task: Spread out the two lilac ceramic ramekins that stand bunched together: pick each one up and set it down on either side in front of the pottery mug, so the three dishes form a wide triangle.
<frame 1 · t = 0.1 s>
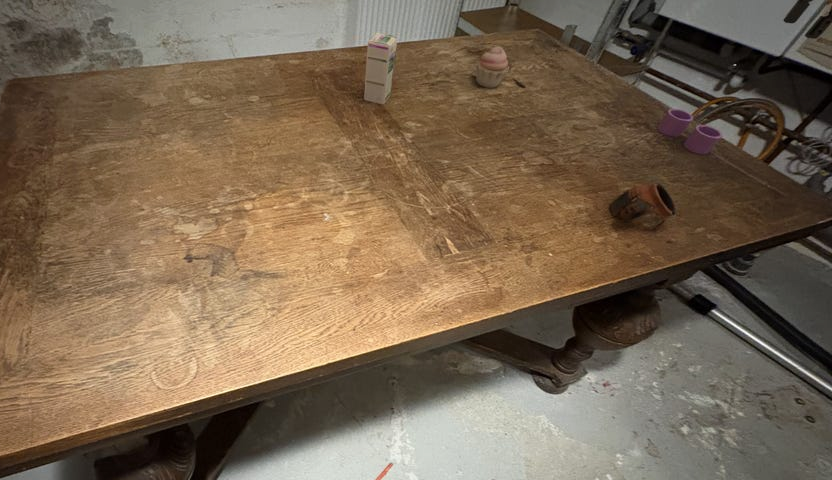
hand: (798, 29, 85), 25 cm above the table, tool pointing down, fingers open, 8 cm apart
cupcake: (487, 84, 117), on the table
ramekin a: (668, 130, 106), on the table
syrup box: (376, 98, 108), on the table
ramekin b: (695, 147, 102), on the table
pottery mug: (631, 218, 83), on the table
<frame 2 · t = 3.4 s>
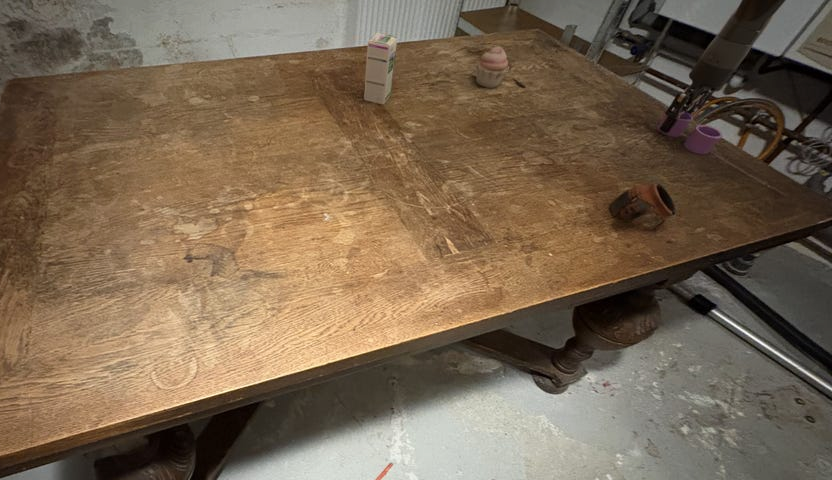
hand: (670, 128, 105), 1 cm above the table, tool pointing down, fingers closed on ramekin a, 6 cm apart
ramekin a: (668, 130, 106), on the table, touching gripper
everything else where it was.
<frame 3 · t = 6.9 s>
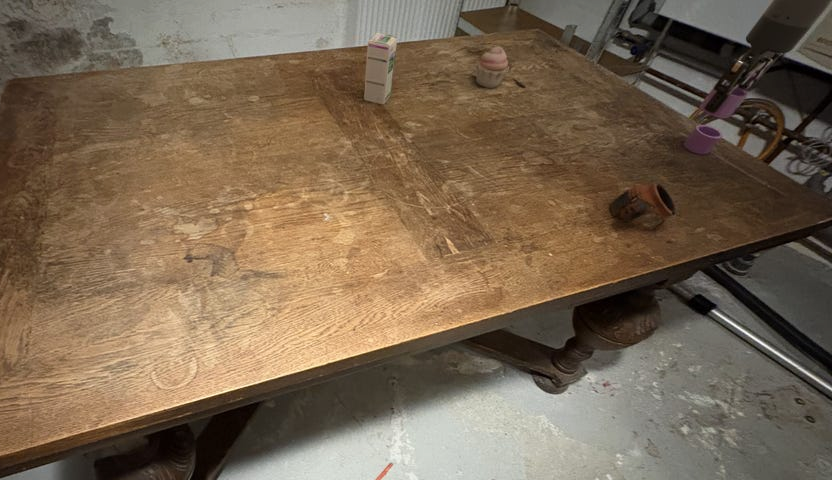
hand: (717, 107, 85), 14 cm above the table, tool pointing down, fingers closed on ramekin a, 6 cm apart
ramekin a: (714, 111, 86), point 13 cm above the table, touching gripper
everything else where it was.
when the fingers open (1 cm above the table, at t = 10.3 s): ramekin a stays where it is, on the table.
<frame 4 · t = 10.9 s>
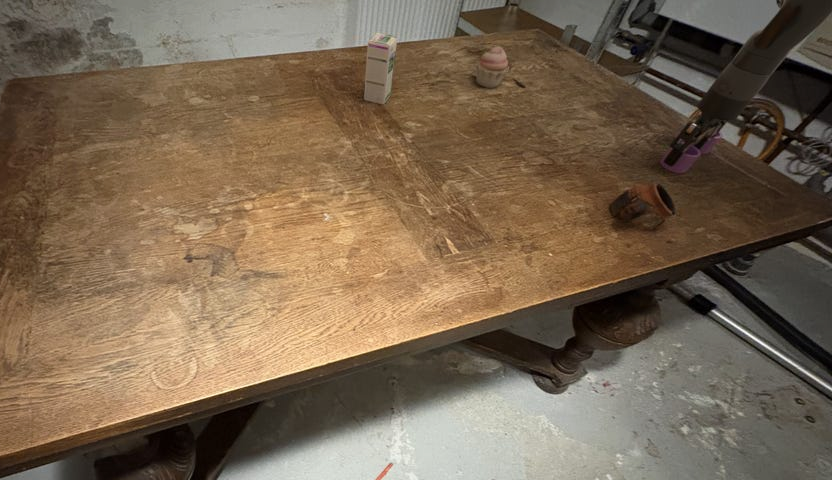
hand: (678, 159, 94), 2 cm above the table, tool pointing down, fingers open, 8 cm apart
ramekin a: (673, 165, 96), on the table
everything else where it was.
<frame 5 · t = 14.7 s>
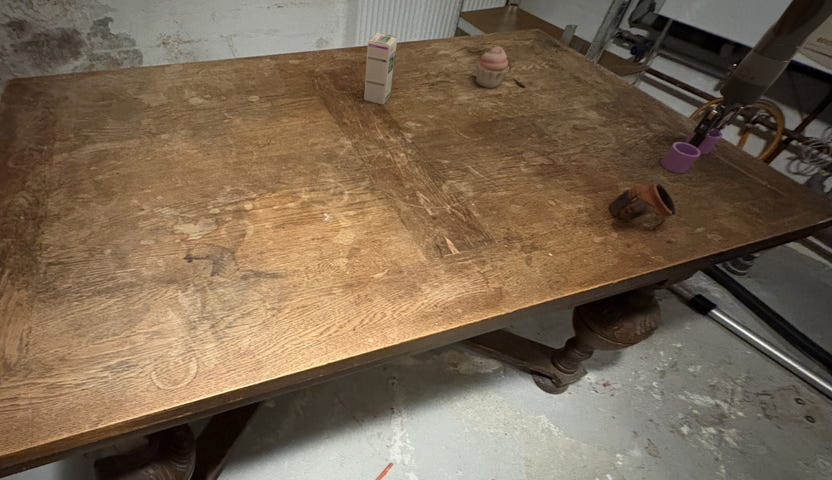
hand: (698, 144, 101), 1 cm above the table, tool pointing down, fingers closed on ramekin b, 6 cm apart
ramekin b: (695, 147, 102), on the table, touching gripper
everything else where it was.
when the fingers open (1 cm above the table, at t = 21.9 s): ramekin b stays where it is, on the table.
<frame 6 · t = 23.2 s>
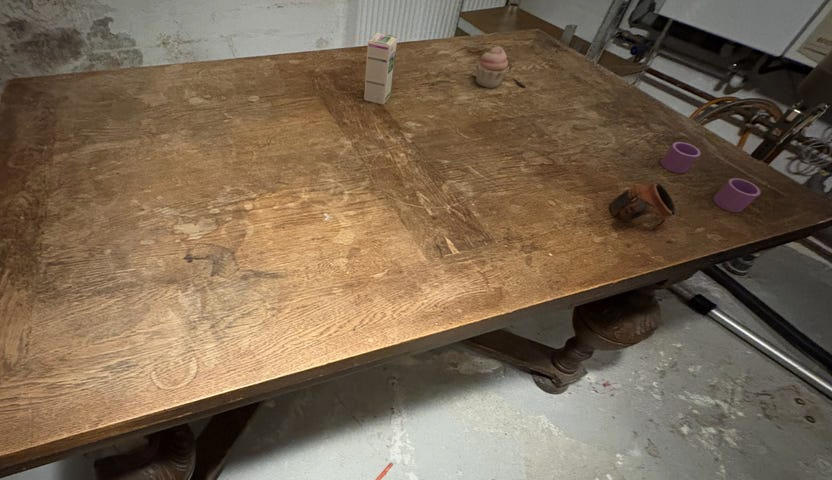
hand: (766, 152, 82), 11 cm above the table, tool pointing down, fingers open, 8 cm apart
ramekin b: (727, 203, 88), on the table
everything else where it was.
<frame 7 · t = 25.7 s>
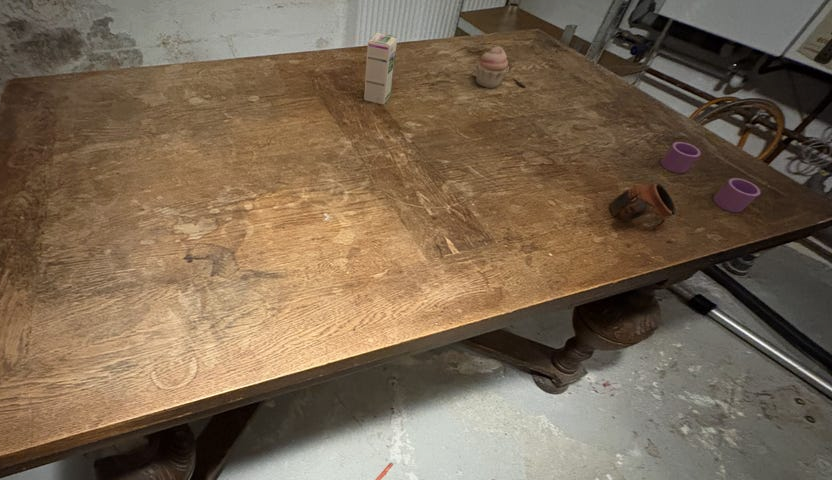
hand: (830, 58, 74), 26 cm above the table, tool pointing down, fingers open, 8 cm apart
nothing on the table moved.
at the end: ramekin a 0.1 cm from the target spot on the table beside the pottery mug, on the table; ramekin b 0.1 cm from the target spot on the table beside the pottery mug, on the table; ramekin b tilted 0° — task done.
